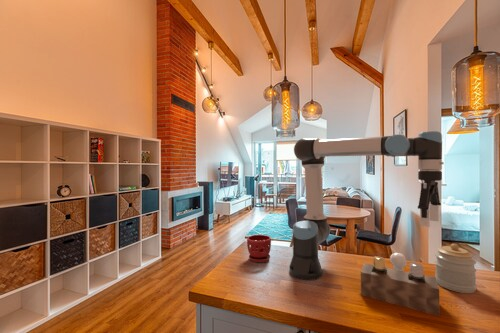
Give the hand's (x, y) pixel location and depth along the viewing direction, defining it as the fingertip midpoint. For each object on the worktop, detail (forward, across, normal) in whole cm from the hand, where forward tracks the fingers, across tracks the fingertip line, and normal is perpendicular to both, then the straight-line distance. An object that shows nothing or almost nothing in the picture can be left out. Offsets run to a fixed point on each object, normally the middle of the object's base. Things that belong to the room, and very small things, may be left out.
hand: (429, 223), depth 93 cm
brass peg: (+22, -17, +12) cm, 30 cm away
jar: (+28, +14, -6) cm, 31 cm away
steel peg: (+21, -14, +1) cm, 25 cm away
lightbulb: (+28, +4, +12) cm, 30 cm away
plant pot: (+28, -30, +69) cm, 80 cm away
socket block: (+27, -15, +6) cm, 32 cm away
